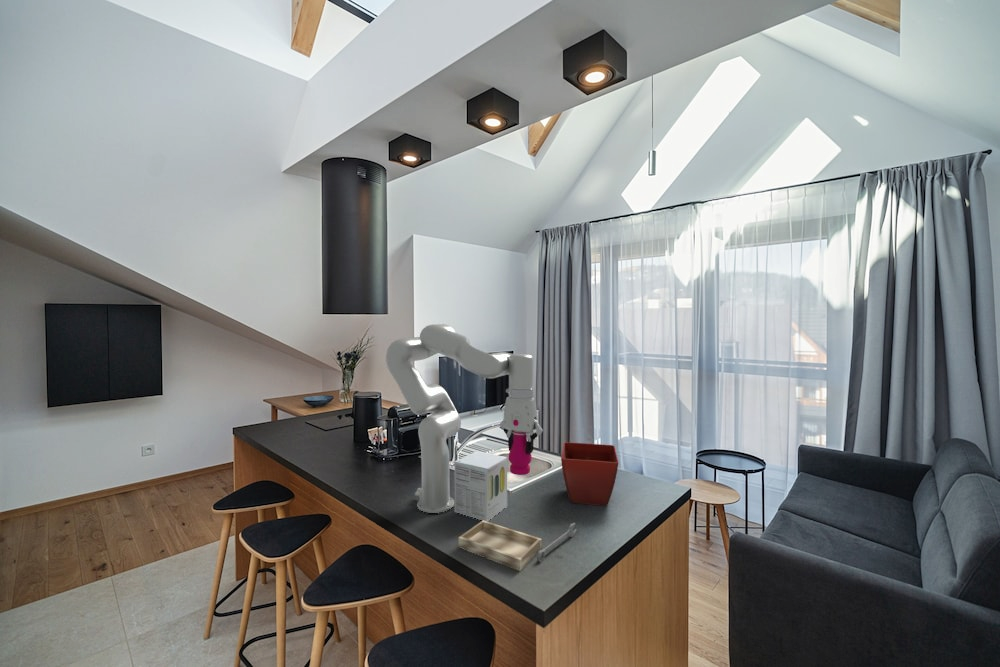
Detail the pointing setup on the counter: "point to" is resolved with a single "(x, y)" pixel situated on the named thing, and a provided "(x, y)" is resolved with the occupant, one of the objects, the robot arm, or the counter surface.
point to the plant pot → (589, 472)
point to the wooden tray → (501, 544)
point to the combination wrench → (556, 542)
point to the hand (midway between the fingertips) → (520, 450)
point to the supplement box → (481, 485)
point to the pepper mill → (519, 453)
